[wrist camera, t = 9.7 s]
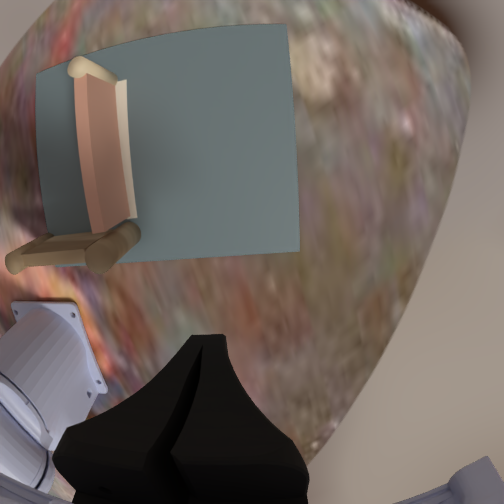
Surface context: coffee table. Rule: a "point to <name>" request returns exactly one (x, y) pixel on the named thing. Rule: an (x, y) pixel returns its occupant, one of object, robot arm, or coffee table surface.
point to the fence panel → (99, 144)
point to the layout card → (185, 143)
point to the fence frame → (76, 249)
